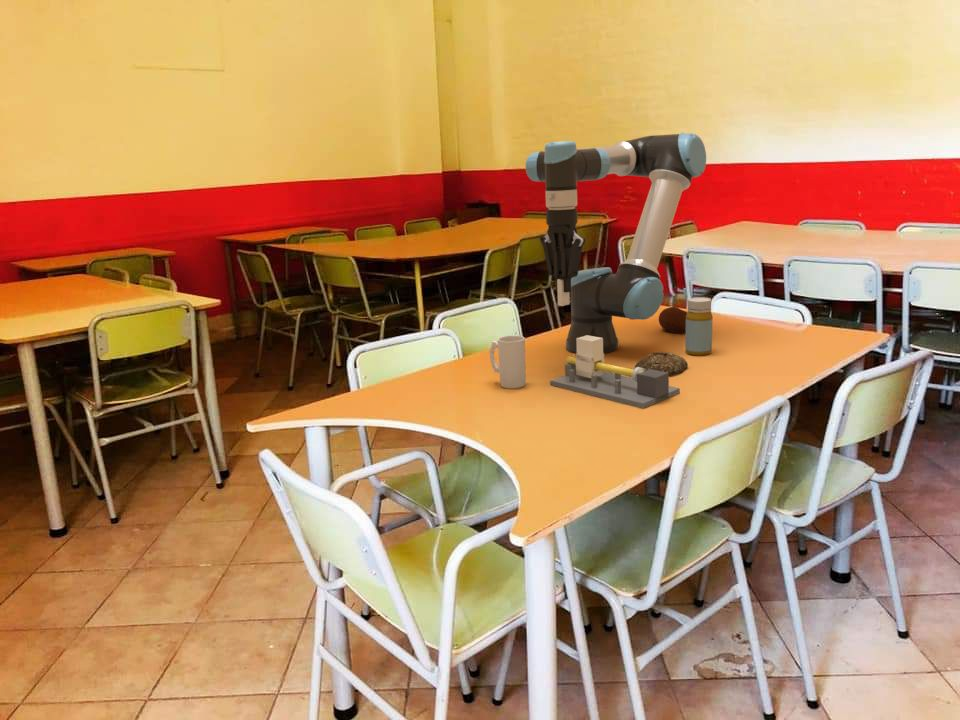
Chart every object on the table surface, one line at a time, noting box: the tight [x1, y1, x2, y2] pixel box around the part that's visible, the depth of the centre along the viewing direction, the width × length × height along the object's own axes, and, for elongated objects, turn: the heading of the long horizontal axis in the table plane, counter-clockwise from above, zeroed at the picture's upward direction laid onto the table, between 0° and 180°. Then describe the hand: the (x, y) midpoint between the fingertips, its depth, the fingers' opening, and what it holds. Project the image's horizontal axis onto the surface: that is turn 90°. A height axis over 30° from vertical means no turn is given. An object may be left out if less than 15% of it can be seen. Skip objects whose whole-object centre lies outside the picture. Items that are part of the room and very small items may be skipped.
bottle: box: [684, 297, 714, 357], centre depth 204 cm, size 7×7×15 cm
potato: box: [658, 306, 688, 334], centre depth 230 cm, size 8×12×8 cm, turn 50°
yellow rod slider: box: [549, 355, 681, 410], centre depth 179 cm, size 28×14×7 cm, turn 42°
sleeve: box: [575, 335, 605, 378], centre depth 183 cm, size 5×5×9 cm
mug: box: [489, 335, 527, 390], centre depth 186 cm, size 10×7×12 cm, turn 54°
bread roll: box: [634, 351, 688, 377], centre depth 193 cm, size 13×12×5 cm
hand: (563, 304), depth 185 cm, fingers closed
